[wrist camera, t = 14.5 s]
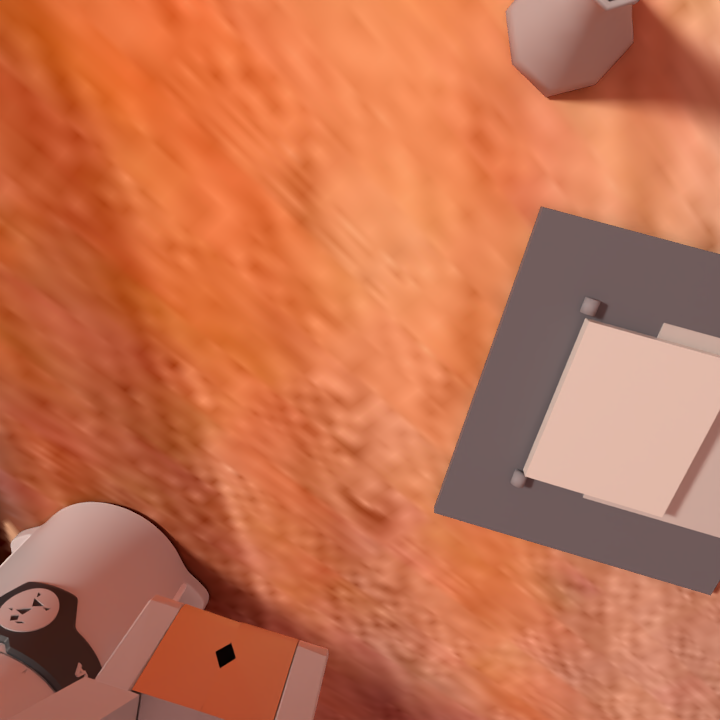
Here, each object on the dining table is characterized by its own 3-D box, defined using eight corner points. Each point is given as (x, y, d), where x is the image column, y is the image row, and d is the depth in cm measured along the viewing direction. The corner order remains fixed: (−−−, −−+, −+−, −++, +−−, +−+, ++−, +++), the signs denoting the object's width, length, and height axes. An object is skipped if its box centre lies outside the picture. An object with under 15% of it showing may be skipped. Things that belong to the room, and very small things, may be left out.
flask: (653, 49, 32) (745, -7, 22) (537, 119, 34) (576, 95, 24) (601, -74, 30) (676, -190, 21) (484, 7, 32) (503, -65, 23)
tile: (522, 468, 40) (655, 507, 39) (525, 476, 39) (662, 517, 38) (584, 317, 36) (734, 358, 35) (589, 321, 35) (744, 364, 34)
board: (705, 587, 42) (716, 603, 40) (434, 506, 43) (434, 519, 42) (880, 297, 34) (902, 302, 32) (541, 206, 35) (545, 207, 33)
